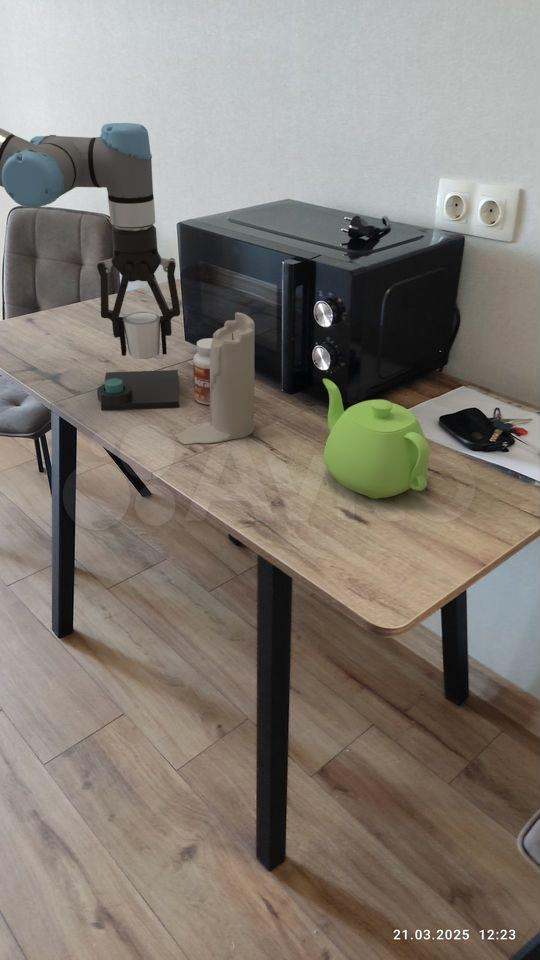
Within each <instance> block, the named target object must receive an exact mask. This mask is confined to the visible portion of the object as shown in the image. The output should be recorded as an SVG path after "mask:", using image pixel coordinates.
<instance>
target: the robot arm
mask: <svg viewBox="0 0 540 960" xmlns="http://www.w3.org/2000/svg"><path fill="white" fill-rule="evenodd" d="M152 158H153V155H152V152H151V146H150V137H149V131H148V129H147V127H146V126H145V125H143V124H139V123H136V122H135V123H134V122H113V123H112V122H111V123H106V124H103V125H102V126H101V129H100V136H96V137H95V136H93V137H87V136H86V137H85V136H68V135H67V136H66V135H65V136H64V135H56V134H49V135H37V136H34V137H32V138H31V139H30V141H28V140H27V139H24V138H22V137H20V136H18V135H15V134H14V133H12V132H10V131H8V130H5V129H4V128H2V127H0V187H2V188H3V189H4V191H5V192H6V194H7V195H8V196H9V197H10V198H11V199H12V200H13V201H14V202H15V203H16V204H18V205H20V206H21V207H24V208H27V209H36V208H40V207H45V206H47V205H50V204H52V203H54V202H56V201H57V199H59V198H60V197H61V196H64V195H65V194H67V193H68V192H70V191H72V190H74V189H75V188H98V189H102V188H106V191H107V203H108V212H109V219H110V221H109V222H110V224H111V225H112V228H111V240H112V250H113V253H112V257H111V258H108V259H105V260H104V259H99V260H98V262H97V265H96V268H97V271H98V274H99V276H100V317H101V319H108V320H110V321H111V326H112V334H113V337H114V338H115V339H116V338H119V343H120V351H121V352H120V353H121V356H122V357H126V356H127V349H128V348H127V340H126V335H125V330H124V324H123V317H124V316H120V314H121V310H122V306H123V303H124V300H125V296H126V293H127V289H128V285H129V283H133V282H137V281H139V282H146V283H147V285H148V286H149V288H150V290H151V292H152V295H153V297H154V299H155V301H156V303H157V306H158V308H159V310H160V312H161V315H159V316H160V341H161V353H162V355H168V354H167V352H168V350H167V348H168V347H167V337H171V336H172V330H173V329H172V319H173V318H174V317H179V316H180V315H181V306H180V300H179V294H178V288H177V281H176V277H175V276H176V275H175V272H176V267H177V263H176V259H175V258H173V257H171V258H164V257H161V254H160V253H159V250H158V237H157V227H156V226H155V224H156V207H155V197H154V185H153V166H152V165H153V163H152ZM160 265H161V266H162V270H163V271H164V272H165V273H166V275H167V276H166V277H167V284H168V289H169V295H170V301H171V308H169V306H168V303H167V301H166V299H165V297H164V294H163V292H162V290H161V287H160V285H159V283H158V281H157V278H156V275H155V273H156V271H157V270H158V268H159V267H160ZM112 267H114V268H115V269H116V270H117V271H118V273H119V275H121V279H120V284H119V287H118V290H117V295H116V298H115V301H114V305H113V309H112V310H111V309H109V307H110V306H109V302H110V301H109V300H110V299H109V295H110V294H109V293H110V292H109V291H110V289H109V283H110V282H109V281H110V280H109V278H110V277H109V276H110V273H111V272H112Z"/></svg>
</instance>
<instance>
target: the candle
mask: <svg viewBox="0 0 540 960" xmlns="http://www.w3.org/2000/svg"><path fill="white" fill-rule="evenodd" d="M234 314H235V315H234V317H235V319H231V320H230V319H229V320H226V321H225V322H224V325H223V327H221V328H218V329H217V330H215V332H214V333H213V334H212V338H213V340H212V343H211V352H210V405H209V421H205V422H201V423H197V424H194V425H190V426H187V428H185V429H184V430H183V431H181V432H177V433H175V434H174V436H173V437H175V438H176V439H177V440H178V442H179V443H181V444H183V445H191V444H203V445H205V444H206V445H208V444H217V443H221V442H226V441H231V440H236V439H242V438H245V437H248V436H250V435H252V433H253V432H254V429H255V373H256V370H255V369H256V368H255V337H256V335H255V334H256V333H255V332H256V329H255V328H256V327H255V326H256V325H255V321H254V320H253V319H252V318H251V316H249V315H247V314H245V313H243V312H239V311H238V312H237V311H236V312H235V313H234Z"/></svg>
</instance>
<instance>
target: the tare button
mask: <svg viewBox="0 0 540 960" xmlns="http://www.w3.org/2000/svg"><path fill="white" fill-rule="evenodd" d="M104 382H105V390H106V393H110V394H114V393H120V392H122V391H123V390H124V389H123V381H122V380H121V379H117V378H113V379H108V380H106V381H105V380H104Z"/></svg>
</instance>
